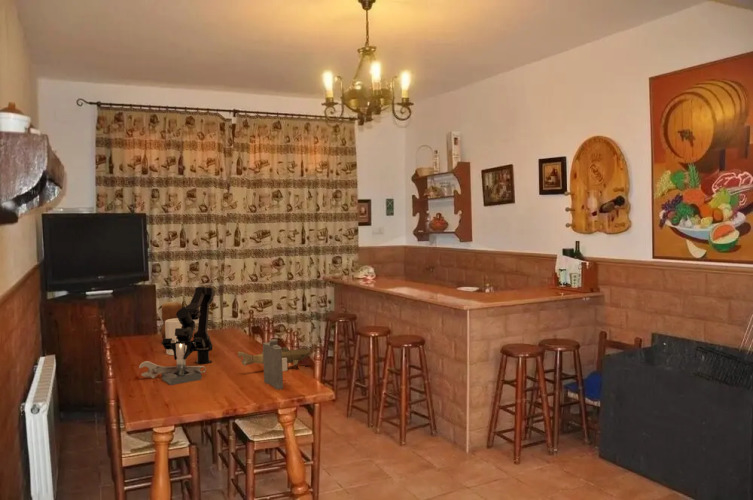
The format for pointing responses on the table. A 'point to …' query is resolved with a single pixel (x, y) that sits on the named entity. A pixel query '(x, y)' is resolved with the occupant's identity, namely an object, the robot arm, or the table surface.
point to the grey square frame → (181, 376)
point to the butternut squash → (169, 313)
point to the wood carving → (286, 357)
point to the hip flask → (273, 364)
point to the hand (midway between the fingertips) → (179, 359)
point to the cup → (172, 332)
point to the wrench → (162, 369)
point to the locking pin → (180, 358)
